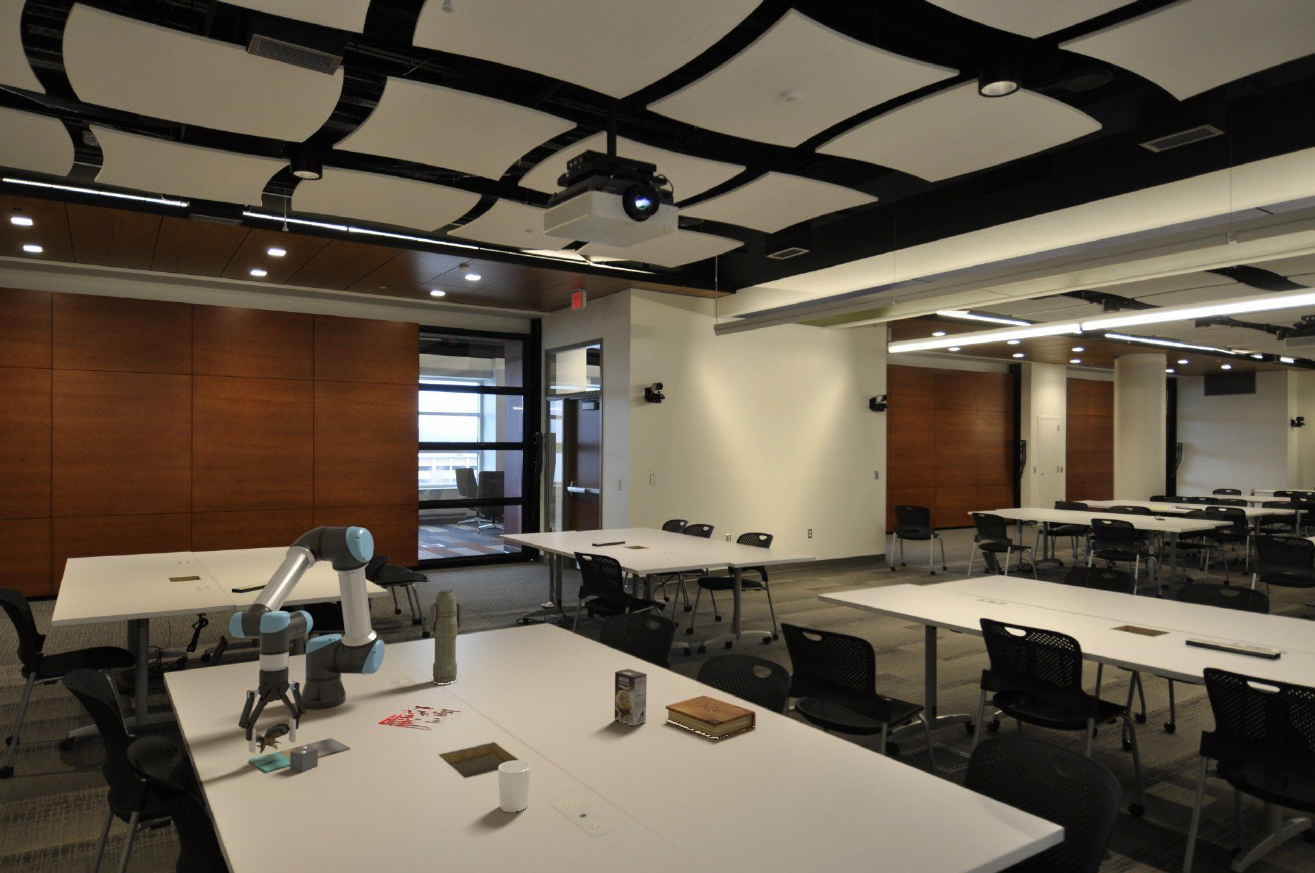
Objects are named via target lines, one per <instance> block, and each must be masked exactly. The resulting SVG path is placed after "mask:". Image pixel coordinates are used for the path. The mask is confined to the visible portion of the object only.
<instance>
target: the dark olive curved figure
mask: <svg viewBox="0 0 1315 873" xmlns="http://www.w3.org/2000/svg"><path fill="white" fill-rule="evenodd" d="M289 731H290V728H289V724H287V723H278V724H276V725H274V726H271V727H270V728H268V729H267V730H266V732H265V733H264V735H261V734H259V733H258V734H256V744H257V743H258V745H256V748H260V751H259V754H262V753H263V752H265V749H266V746H268V747H272V748H273V749H275V750H278V745H277V744H281V742H280V741H278V740H277V738H281V737H282V736H286V735H289Z"/></svg>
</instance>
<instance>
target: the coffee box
mask: <svg viewBox="0 0 1315 873" xmlns="http://www.w3.org/2000/svg"><path fill="white" fill-rule="evenodd" d="M647 680H648V678H647V673H644V672H641V671H637V670H633V669H630V668H626V669H622V670H621V669H620V670H618V671H617V670H616V671H615V672H614V721H615V720H619V721H621V722H625V723H627V724H631V725H635V724H639V723H641V722H644V721H646V722H647V684H648V683H647ZM621 722H620V723H621ZM627 724H626V725H627Z"/></svg>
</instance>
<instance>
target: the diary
mask: <svg viewBox="0 0 1315 873" xmlns="http://www.w3.org/2000/svg"><path fill="white" fill-rule="evenodd" d="M665 710H668V712H667V715H668V716H667V717H668V718H667V720H671V721H673V722H676V723H678V724H681V725H683V726H686V727H688V728H689V729H694V730H693V731H700V732H701V733H705V735H710V736H709V737H718V738H720V737H723V736H726V735H729V736H731V735H730V734H732V733H735V734H737V733H736V732H738V733H740V732H739V731H741V732H743V731H742V730H744V729H747V730H749V729H748V728H751V727H753V726H755V727H756V720H757V718H756V717H757V716H756V714H757V713H756V712H755V711H753V710H750V709H748V708H744V707H742V706H739V705H735V704H732V703H729V702H726V701H723V700H719V699H717V698H712V697H711V696H707V695H704V694H703V695H701V696H697V697H692V698H690V699H685V700H682V701H678V702H674V703H672V704H668V705H665ZM751 729H752V728H751ZM744 731H745V730H744ZM732 735H733V734H732ZM726 737H727V736H726ZM723 738H724V737H723ZM714 739H717V738H714ZM714 739H713V740H714ZM720 739H721V738H720ZM717 740H718V739H717Z"/></svg>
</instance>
